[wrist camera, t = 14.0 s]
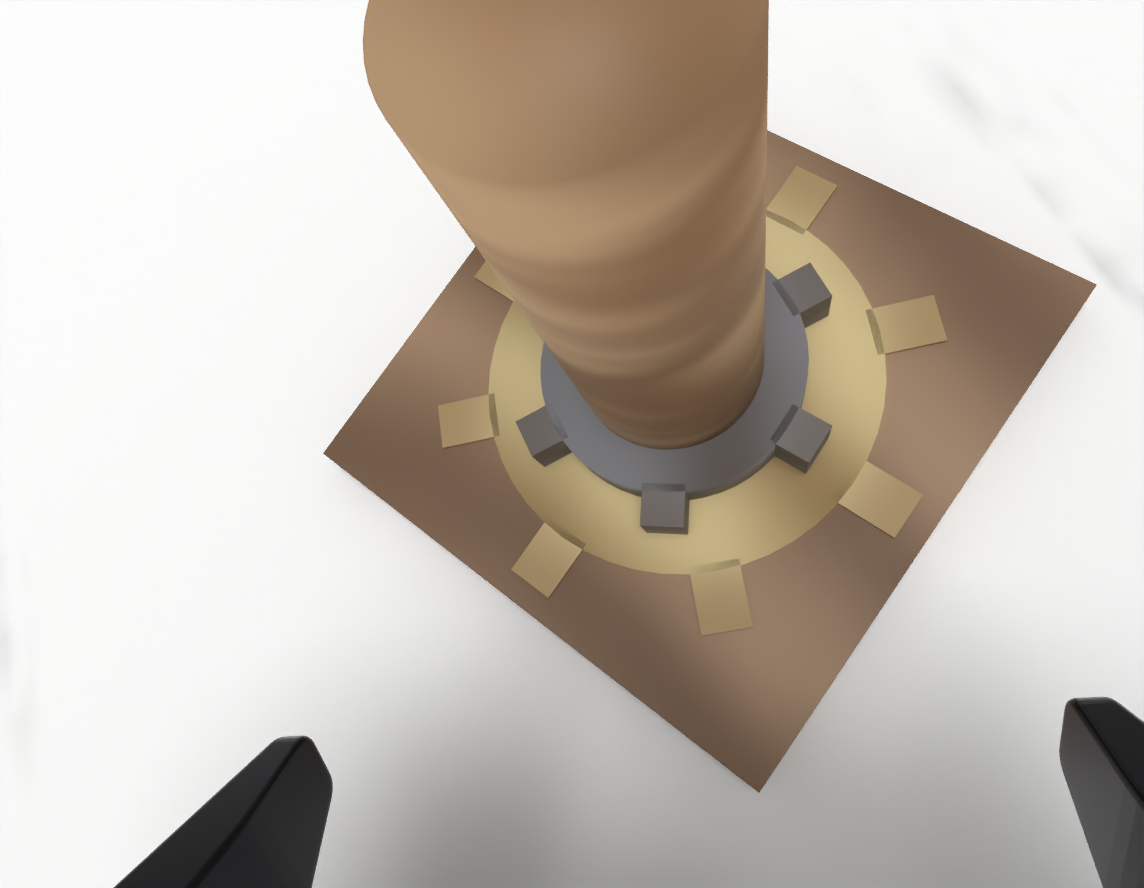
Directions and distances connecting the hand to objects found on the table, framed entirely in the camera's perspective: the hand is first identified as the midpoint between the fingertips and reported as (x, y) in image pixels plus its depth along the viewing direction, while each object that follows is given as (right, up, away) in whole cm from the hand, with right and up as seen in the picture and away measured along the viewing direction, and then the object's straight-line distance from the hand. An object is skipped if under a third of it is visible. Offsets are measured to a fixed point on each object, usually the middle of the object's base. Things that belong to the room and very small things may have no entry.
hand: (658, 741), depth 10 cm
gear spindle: (+2, +5, +11) cm, 12 cm away
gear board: (+2, +5, +12) cm, 13 cm away
